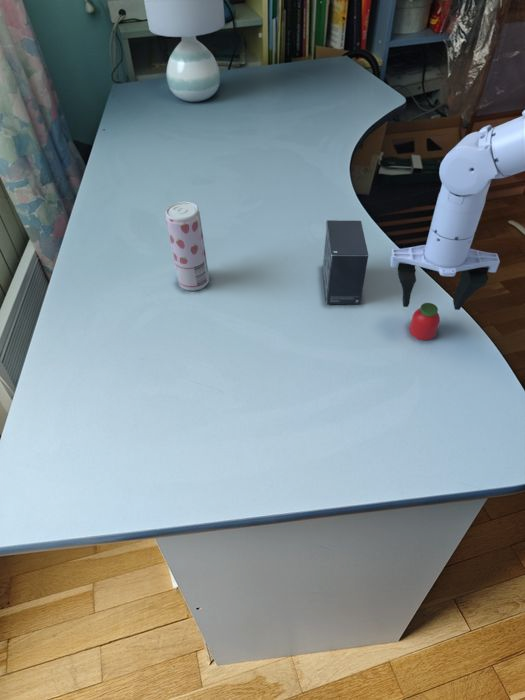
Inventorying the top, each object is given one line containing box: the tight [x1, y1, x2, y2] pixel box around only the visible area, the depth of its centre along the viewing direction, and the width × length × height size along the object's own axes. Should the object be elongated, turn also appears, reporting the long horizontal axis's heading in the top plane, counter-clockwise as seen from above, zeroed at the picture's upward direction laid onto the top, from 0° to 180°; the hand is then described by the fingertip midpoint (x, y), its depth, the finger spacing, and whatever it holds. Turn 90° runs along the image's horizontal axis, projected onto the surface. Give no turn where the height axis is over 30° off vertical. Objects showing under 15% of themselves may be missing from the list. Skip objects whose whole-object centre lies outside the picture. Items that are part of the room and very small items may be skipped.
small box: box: [321, 219, 370, 305], centre depth 84 cm, size 11×6×10 cm, turn 179°
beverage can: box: [165, 201, 210, 292], centre depth 84 cm, size 6×6×15 cm
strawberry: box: [408, 302, 441, 341], centre depth 77 cm, size 4×4×5 cm
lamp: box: [143, 0, 226, 103], centre depth 138 cm, size 22×22×40 cm
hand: (430, 304), depth 75 cm, fingers open, 7 cm apart
